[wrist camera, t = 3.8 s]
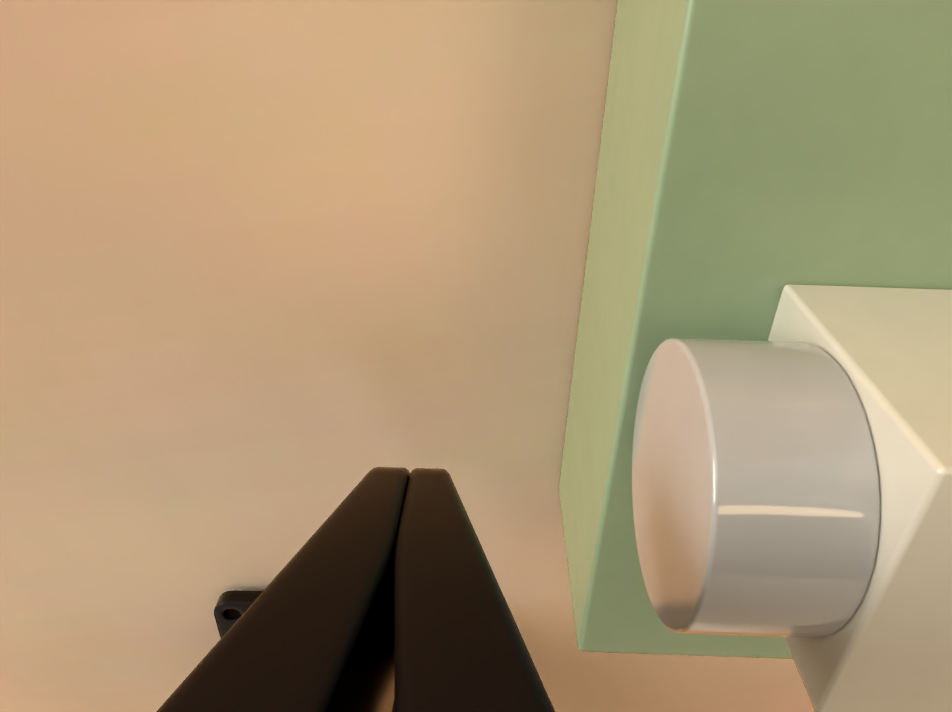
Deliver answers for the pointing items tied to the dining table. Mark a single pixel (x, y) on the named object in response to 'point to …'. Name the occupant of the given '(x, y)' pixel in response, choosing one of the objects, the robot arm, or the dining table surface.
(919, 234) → the stand
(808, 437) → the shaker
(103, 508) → the dining table surface
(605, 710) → the dining table surface
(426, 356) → the dining table surface
